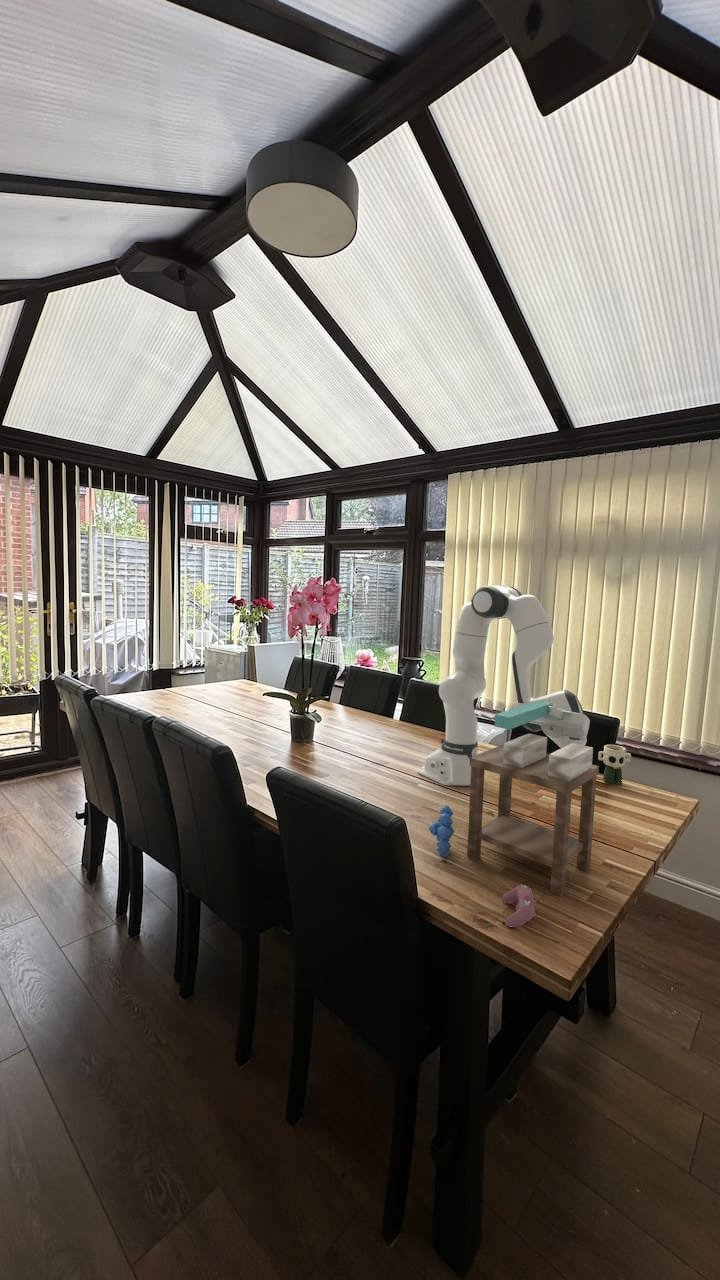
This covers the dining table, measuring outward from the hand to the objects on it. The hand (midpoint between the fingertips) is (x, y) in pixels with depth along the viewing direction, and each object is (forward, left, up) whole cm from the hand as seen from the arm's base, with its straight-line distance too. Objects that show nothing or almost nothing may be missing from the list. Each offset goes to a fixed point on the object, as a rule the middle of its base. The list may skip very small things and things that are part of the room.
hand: (540, 707), depth 143 cm
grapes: (-13, -26, -37) cm, 47 cm away
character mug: (+1, +61, -37) cm, 71 cm away
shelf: (+6, -14, -37) cm, 40 cm away
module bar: (0, -9, -2) cm, 9 cm away
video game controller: (+14, -37, -37) cm, 54 cm away
